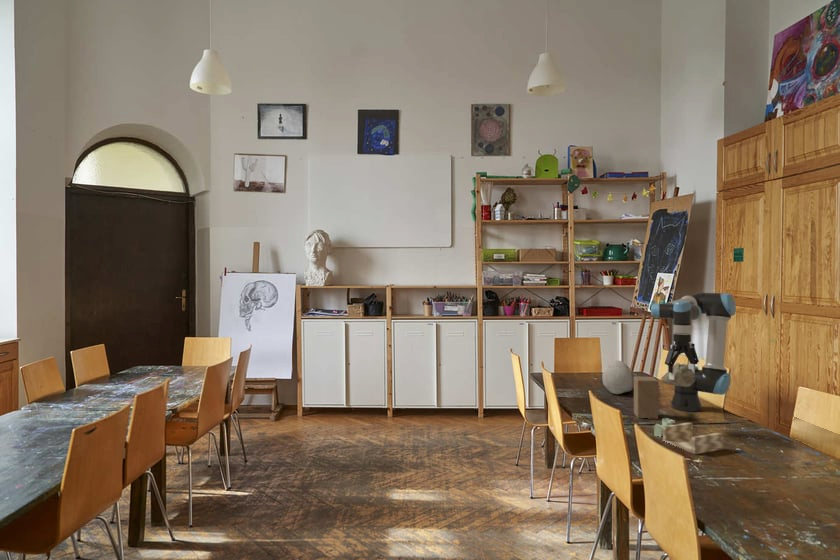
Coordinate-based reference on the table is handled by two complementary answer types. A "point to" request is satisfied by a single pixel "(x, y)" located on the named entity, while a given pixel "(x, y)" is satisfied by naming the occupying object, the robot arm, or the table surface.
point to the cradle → (691, 439)
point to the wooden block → (646, 397)
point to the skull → (617, 377)
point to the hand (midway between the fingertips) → (681, 378)
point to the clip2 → (658, 430)
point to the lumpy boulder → (680, 376)
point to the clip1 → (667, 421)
